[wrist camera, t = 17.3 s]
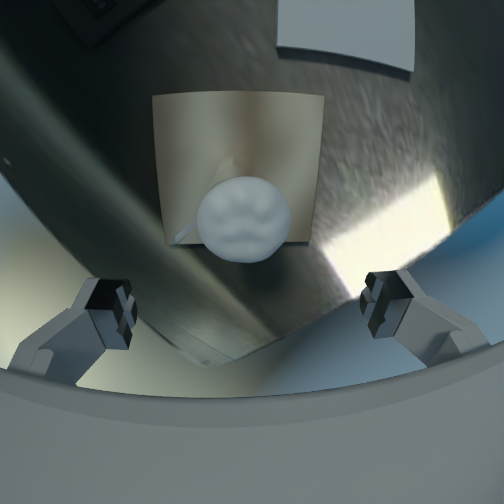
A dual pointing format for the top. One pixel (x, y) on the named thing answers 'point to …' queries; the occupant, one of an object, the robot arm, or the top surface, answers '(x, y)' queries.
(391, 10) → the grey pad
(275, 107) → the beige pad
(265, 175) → the milkshake
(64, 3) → the phone
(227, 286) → the top surface
